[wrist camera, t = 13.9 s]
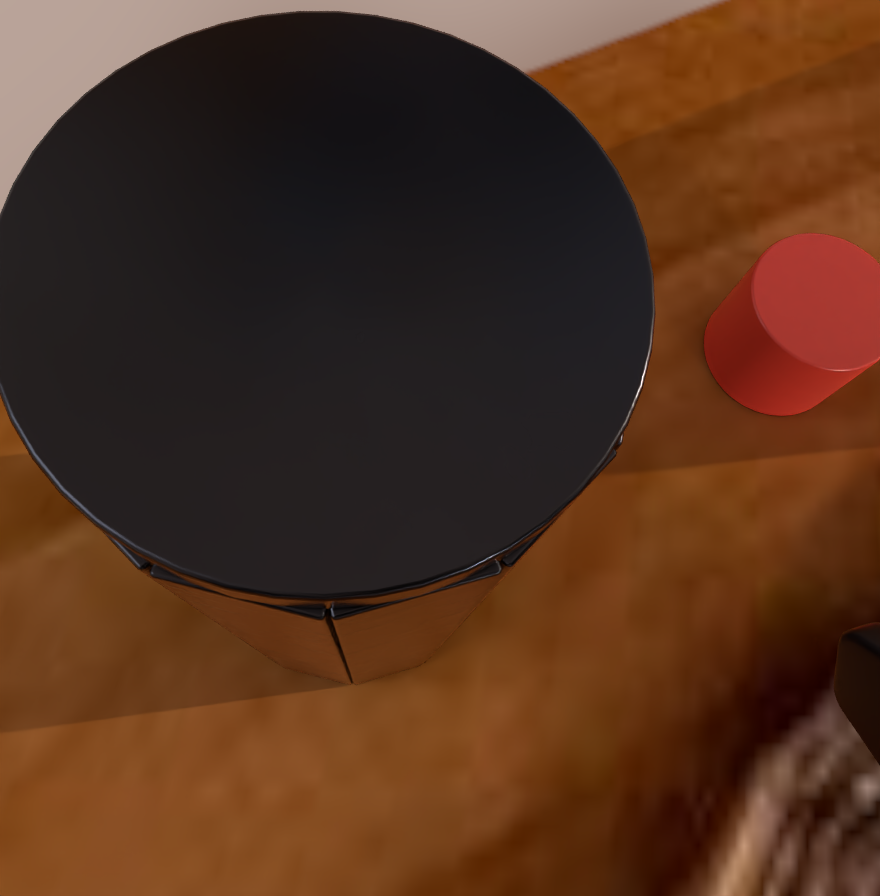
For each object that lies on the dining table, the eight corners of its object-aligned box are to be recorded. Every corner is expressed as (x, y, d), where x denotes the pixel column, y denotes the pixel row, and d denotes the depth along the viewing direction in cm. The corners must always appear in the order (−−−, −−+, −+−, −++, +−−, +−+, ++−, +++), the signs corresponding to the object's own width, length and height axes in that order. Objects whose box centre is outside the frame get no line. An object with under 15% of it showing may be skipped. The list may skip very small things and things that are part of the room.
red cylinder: (861, 354, 24) (931, 301, 21) (784, 444, 23) (847, 401, 20) (755, 268, 25) (808, 205, 22) (675, 351, 24) (720, 296, 21)
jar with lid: (534, 545, 21) (784, 275, 9) (351, 740, 20) (321, 770, 7) (355, 377, 23) (339, -83, 10) (166, 547, 21) (-168, 253, 8)
